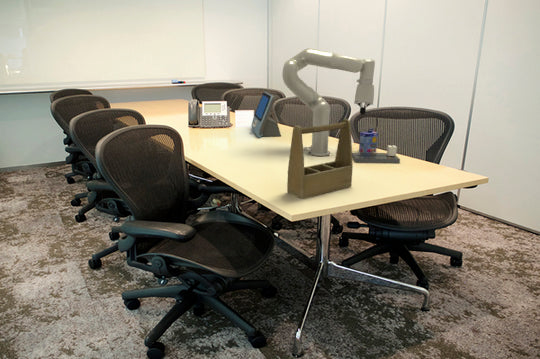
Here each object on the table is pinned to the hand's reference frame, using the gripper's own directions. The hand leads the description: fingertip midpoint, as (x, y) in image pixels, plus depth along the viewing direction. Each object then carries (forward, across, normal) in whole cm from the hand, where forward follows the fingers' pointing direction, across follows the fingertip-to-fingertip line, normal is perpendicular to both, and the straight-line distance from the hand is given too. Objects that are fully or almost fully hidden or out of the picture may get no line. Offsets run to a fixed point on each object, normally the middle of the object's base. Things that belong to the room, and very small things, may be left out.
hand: (362, 114), depth 239 cm
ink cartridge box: (+24, +7, +8) cm, 26 cm away
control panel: (+24, +8, -12) cm, 28 cm away
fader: (+20, +17, -12) cm, 29 cm away
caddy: (+25, -25, -68) cm, 77 cm away
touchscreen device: (+26, -61, +60) cm, 89 cm away
